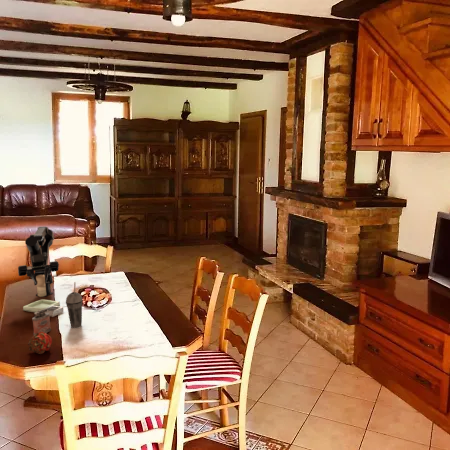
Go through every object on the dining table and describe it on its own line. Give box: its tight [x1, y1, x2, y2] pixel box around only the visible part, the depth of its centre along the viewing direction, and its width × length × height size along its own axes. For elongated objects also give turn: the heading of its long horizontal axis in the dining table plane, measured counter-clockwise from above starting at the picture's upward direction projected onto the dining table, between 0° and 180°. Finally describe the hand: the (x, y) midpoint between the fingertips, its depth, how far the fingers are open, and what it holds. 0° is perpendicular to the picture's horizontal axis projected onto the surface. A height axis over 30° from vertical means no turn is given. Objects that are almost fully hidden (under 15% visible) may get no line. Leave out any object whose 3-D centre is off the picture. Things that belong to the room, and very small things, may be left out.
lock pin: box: [36, 275, 47, 297], centre depth 238 cm, size 4×4×10 cm
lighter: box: [31, 309, 52, 336], centre depth 209 cm, size 8×3×10 cm, turn 148°
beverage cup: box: [65, 281, 84, 329], centre depth 214 cm, size 7×7×20 cm
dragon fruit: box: [27, 332, 53, 355], centre depth 190 cm, size 8×8×12 cm
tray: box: [22, 298, 61, 313], centre depth 241 cm, size 12×12×2 cm
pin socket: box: [45, 305, 65, 318], centre depth 233 cm, size 7×7×2 cm
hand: (41, 283), depth 237 cm, fingers closed on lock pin, 4 cm apart
